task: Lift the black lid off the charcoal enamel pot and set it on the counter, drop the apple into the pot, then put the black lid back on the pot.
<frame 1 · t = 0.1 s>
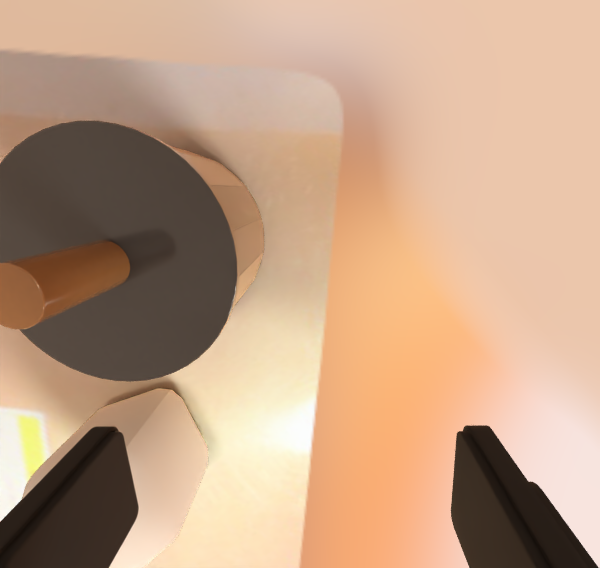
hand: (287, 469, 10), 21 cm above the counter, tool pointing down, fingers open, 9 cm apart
pot: (185, 236, 29), on the counter
lid: (113, 261, 19), point 10 cm above the counter, touching pot
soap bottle: (159, 428, 35), on the counter
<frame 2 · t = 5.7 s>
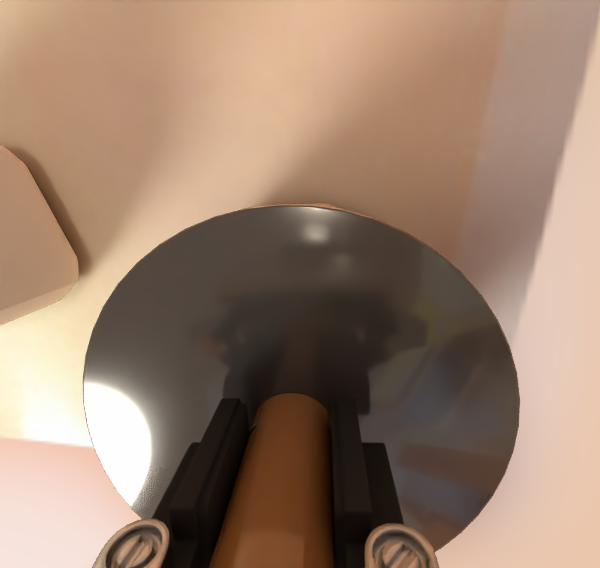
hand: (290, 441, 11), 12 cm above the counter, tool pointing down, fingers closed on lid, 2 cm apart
lid: (294, 415, 12), point 11 cm above the counter, touching gripper
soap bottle: (7, 237, 22), on the counter
when the fingers open (2 cm above the counter, at t = 13.8 s): lid stays where it is, point 1 cm above the counter.
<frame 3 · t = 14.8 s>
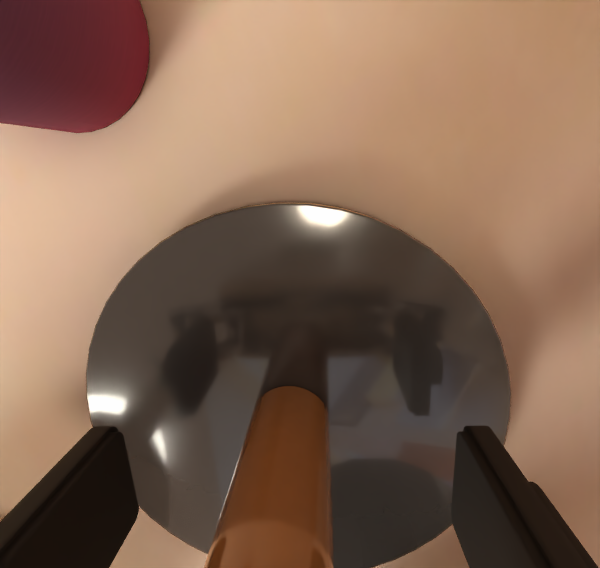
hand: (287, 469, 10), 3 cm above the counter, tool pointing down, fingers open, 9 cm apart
cup: (71, 43, 10), on the counter
lid: (292, 408, 12), point 1 cm above the counter
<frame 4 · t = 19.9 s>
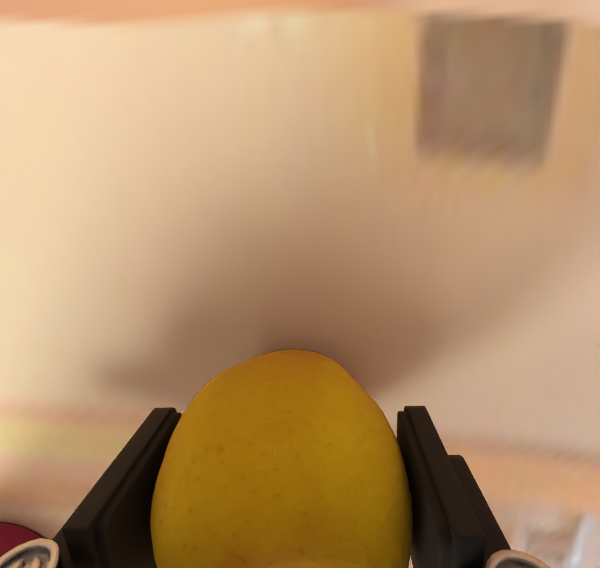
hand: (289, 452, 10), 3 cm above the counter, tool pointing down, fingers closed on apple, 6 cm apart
cup: (18, 559, 17), on the counter
apple: (296, 391, 13), on the counter, touching gripper
when the fingers open (11 cm above the counter, at t = 28.7 s): apple drops 7 cm, resting on pot.
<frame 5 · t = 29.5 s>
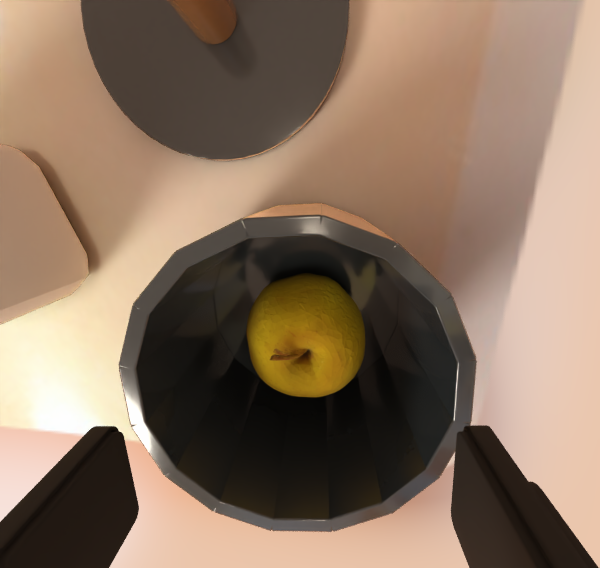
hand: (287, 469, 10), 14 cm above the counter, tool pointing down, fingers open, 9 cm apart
apple: (307, 307, 23), resting on pot
pot: (305, 305, 23), on the counter
lid: (215, 21, 19), point 1 cm above the counter
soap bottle: (19, 236, 23), on the counter
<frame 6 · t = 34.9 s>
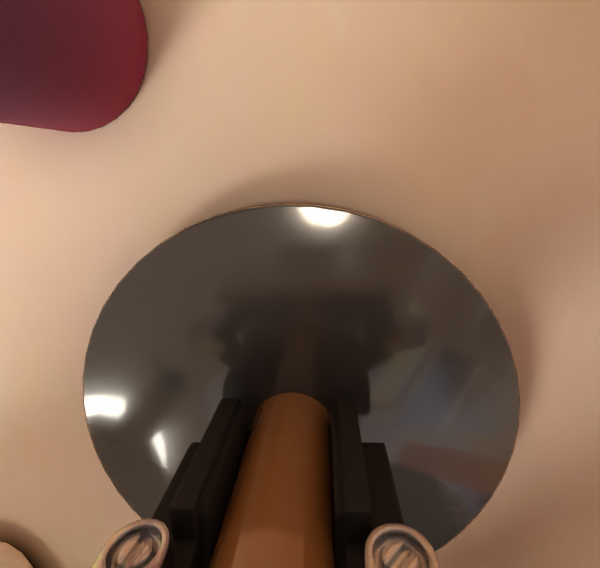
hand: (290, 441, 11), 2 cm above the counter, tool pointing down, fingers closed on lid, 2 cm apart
cup: (67, 40, 10), on the counter
lid: (294, 415, 12), point 1 cm above the counter, touching gripper
when the fingers open (12 cm above the counter, at t = 43.0 s): lid stays where it is, resting on pot.
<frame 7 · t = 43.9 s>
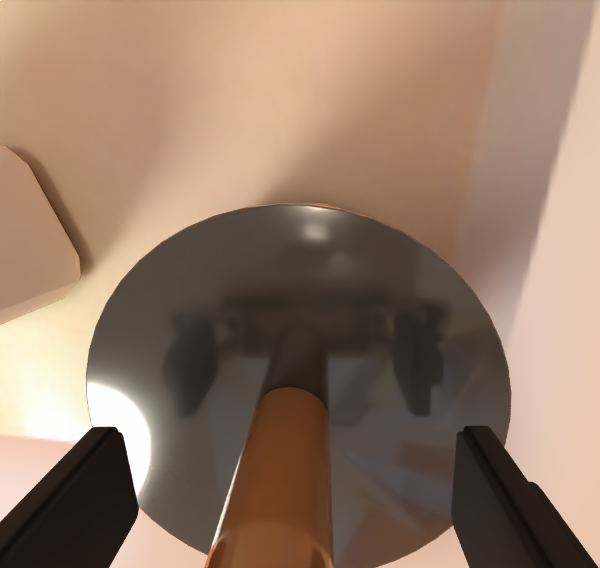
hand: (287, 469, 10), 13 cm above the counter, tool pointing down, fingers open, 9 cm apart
lid: (292, 409, 12), point 10 cm above the counter, touching pot
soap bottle: (9, 237, 23), on the counter
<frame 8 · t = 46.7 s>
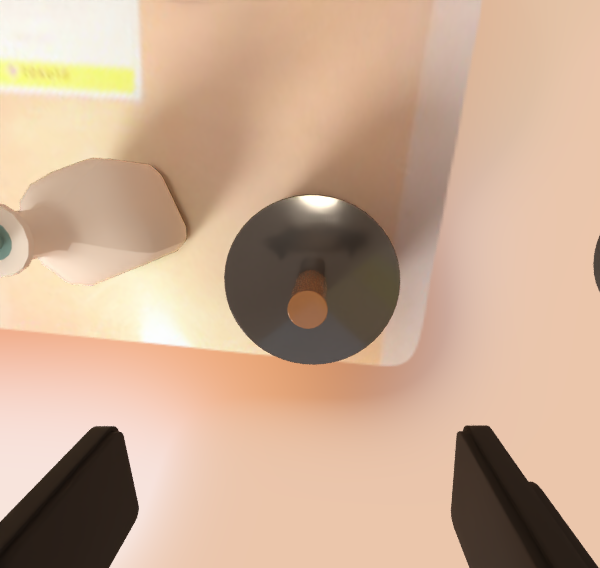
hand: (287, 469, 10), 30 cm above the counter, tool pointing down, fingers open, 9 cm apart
lid: (311, 283, 29), point 10 cm above the counter, touching pot
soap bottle: (143, 217, 39), on the counter
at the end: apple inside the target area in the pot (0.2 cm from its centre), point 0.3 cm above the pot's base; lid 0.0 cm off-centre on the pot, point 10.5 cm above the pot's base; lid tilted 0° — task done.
